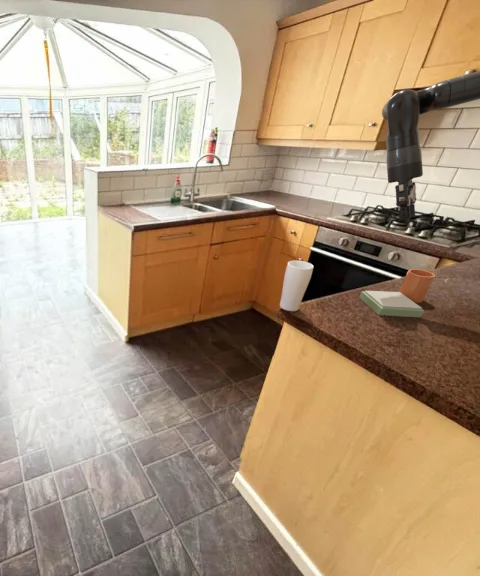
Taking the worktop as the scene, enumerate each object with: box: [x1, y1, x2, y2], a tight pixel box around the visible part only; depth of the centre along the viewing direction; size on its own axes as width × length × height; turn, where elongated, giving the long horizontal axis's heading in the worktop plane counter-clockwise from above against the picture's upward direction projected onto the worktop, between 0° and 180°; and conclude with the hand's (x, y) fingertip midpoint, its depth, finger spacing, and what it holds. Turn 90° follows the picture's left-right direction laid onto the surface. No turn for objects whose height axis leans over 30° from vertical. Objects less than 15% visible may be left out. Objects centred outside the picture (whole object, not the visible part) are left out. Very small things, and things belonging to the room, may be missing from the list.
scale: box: [358, 290, 425, 318], centre depth 100 cm, size 11×11×3 cm
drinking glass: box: [279, 260, 314, 312], centre depth 98 cm, size 7×7×15 cm
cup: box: [398, 268, 436, 304], centre depth 103 cm, size 6×6×9 cm
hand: (407, 218), depth 98 cm, fingers open, 8 cm apart
